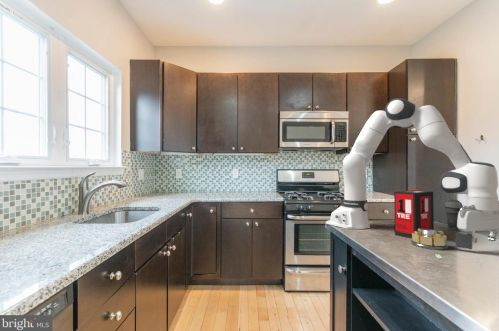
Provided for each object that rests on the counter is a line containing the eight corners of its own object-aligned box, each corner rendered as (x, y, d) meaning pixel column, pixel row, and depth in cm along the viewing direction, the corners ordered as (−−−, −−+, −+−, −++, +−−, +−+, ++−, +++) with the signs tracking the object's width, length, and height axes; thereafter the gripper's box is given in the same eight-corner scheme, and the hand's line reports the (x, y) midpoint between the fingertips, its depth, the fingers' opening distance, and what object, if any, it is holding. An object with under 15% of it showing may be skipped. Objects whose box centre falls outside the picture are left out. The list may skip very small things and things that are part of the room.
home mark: (435, 254, 89) (435, 254, 89) (439, 255, 89) (439, 254, 89) (438, 258, 86) (438, 257, 86) (442, 258, 85) (442, 258, 85)
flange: (406, 244, 102) (406, 229, 102) (416, 239, 109) (416, 225, 110) (443, 252, 93) (443, 235, 93) (451, 245, 100) (451, 230, 100)
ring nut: (409, 241, 101) (409, 229, 101) (416, 236, 109) (416, 225, 109) (471, 252, 88) (470, 237, 88) (473, 245, 96) (473, 232, 96)
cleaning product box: (415, 239, 109) (414, 193, 110) (394, 235, 117) (394, 191, 117) (433, 234, 118) (433, 191, 118) (413, 230, 126) (412, 190, 126)
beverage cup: (458, 229, 127) (457, 189, 127) (467, 233, 120) (466, 191, 120) (441, 229, 129) (441, 189, 129) (449, 232, 121) (449, 190, 122)
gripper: (469, 206, 90) (470, 246, 90) (512, 205, 94) (512, 242, 94) (451, 204, 96) (452, 241, 96) (492, 202, 101) (493, 237, 100)
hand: (482, 241), depth 95 cm, fingers open, 8 cm apart
